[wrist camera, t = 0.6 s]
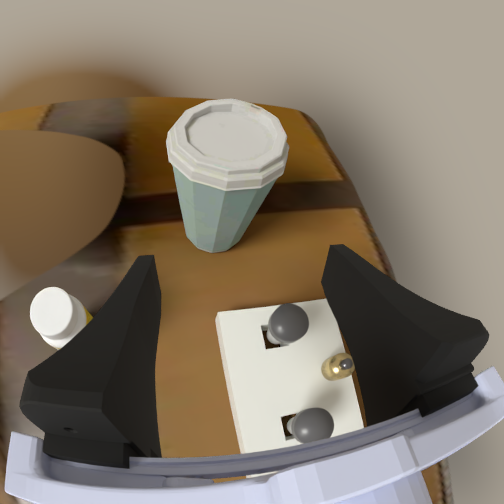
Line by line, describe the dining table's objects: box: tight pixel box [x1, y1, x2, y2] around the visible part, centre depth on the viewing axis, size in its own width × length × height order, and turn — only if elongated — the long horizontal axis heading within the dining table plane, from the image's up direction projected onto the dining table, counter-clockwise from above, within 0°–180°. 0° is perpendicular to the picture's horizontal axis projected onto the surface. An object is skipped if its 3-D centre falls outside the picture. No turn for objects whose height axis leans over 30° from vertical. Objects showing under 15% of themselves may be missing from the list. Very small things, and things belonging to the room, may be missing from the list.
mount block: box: [215, 299, 364, 478], centre depth 26 cm, size 18×12×2 cm, turn 11°
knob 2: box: [287, 408, 334, 444], centre depth 22 cm, size 3×3×4 cm
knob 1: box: [267, 303, 309, 344], centre depth 26 cm, size 3×3×4 cm
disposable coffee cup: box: [166, 99, 289, 253], centre depth 29 cm, size 11×11×15 cm
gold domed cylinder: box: [321, 353, 355, 381], centre depth 26 cm, size 2×2×3 cm
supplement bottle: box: [30, 287, 93, 350], centre depth 22 cm, size 5×5×8 cm
